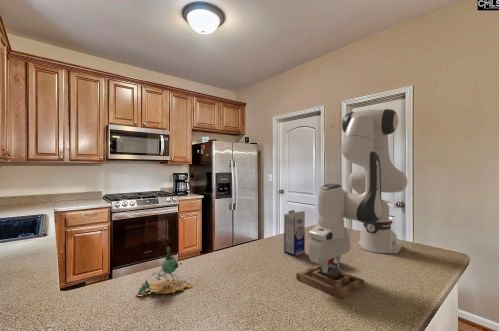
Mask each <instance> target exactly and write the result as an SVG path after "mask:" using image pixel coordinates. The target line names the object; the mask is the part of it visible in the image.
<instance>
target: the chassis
mask: <svg viewBox="0 0 499 331" xmlns="http://www.w3.org/2000/svg"><path fill="white" fill-rule="evenodd" d="M321 266H322V265H321V263H320V264H316V265H314V266H311V267H309V268H307V269H304V270H301V271H299V272H296V274H295V275H296V277H295V278H296V280H297V281H299V282H302V283H304V284H307V285H309V286H311V287H313V288H315V289H318V290H319V291H322V292H325V293H327V294H329V295H331V296H333V297H336V298H338V299H340V300H344V298H347V297H348V296H349V295H351V294H353V293H354V292H356V291H357V290H359V289H361V288H362V287H364V286H365V280H364V279H363V278H360V277H358V276H354V275H352V274H349V273H346V272H343V271H342V278H341V279H339V280H337V281H336V280H333V279H331V278H328V277H326V276H323V275H321V274H320V267H321Z"/></svg>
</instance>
